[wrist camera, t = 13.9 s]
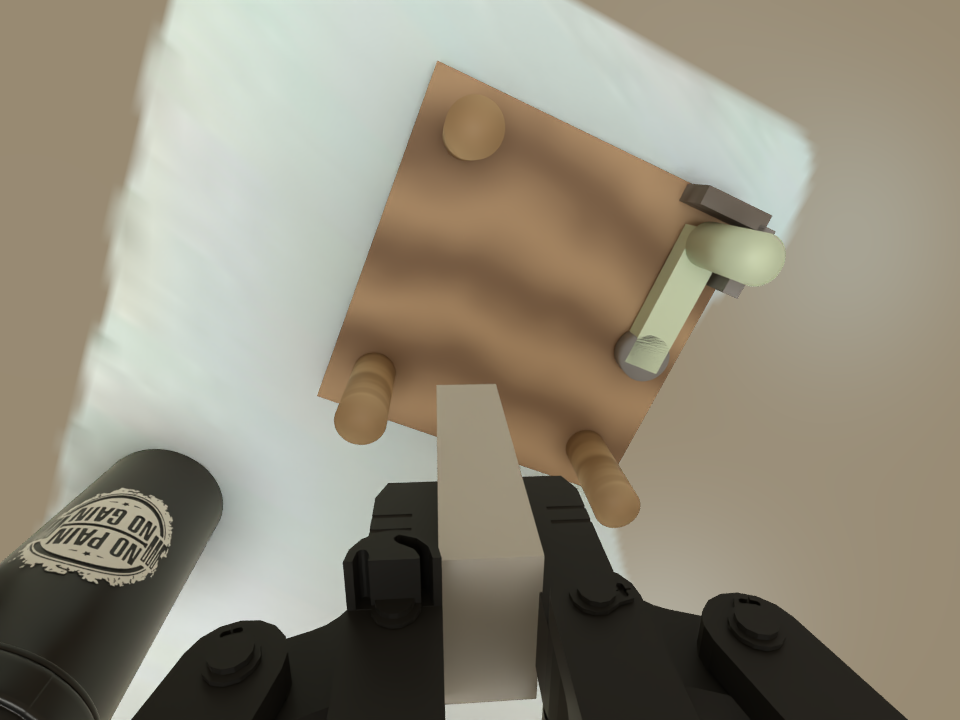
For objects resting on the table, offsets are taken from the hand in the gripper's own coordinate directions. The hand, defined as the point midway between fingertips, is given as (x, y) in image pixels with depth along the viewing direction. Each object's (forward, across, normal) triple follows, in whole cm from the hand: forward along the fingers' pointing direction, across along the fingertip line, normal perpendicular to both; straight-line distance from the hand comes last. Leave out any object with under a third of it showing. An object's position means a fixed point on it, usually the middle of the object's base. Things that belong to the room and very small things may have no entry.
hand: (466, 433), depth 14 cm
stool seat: (+24, +6, -2) cm, 25 cm away
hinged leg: (+22, +14, -2) cm, 27 cm away
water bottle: (+25, -21, -17) cm, 37 cm away
